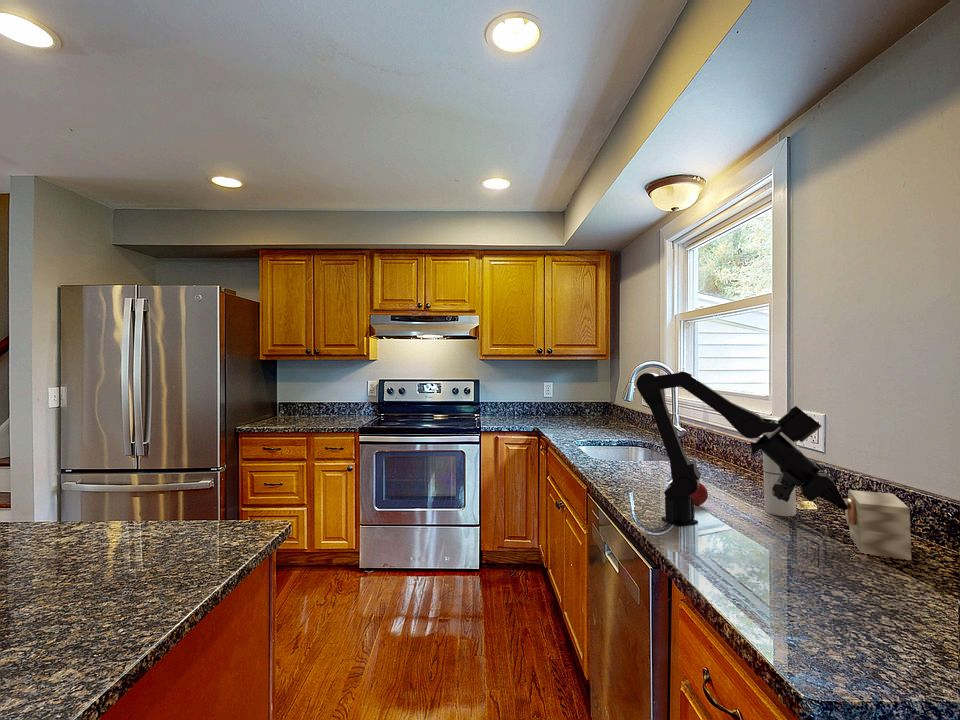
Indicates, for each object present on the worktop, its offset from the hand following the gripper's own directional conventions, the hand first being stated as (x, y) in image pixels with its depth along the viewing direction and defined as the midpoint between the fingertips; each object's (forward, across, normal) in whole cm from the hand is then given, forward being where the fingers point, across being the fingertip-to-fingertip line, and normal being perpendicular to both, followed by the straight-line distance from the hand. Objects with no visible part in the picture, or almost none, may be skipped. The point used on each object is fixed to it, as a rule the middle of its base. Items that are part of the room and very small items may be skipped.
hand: (845, 509), depth 105 cm
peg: (+6, 0, +1) cm, 6 cm away
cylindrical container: (-3, -20, -14) cm, 24 cm away
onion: (-17, -16, -28) cm, 36 cm away
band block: (+9, 0, -1) cm, 9 cm away
